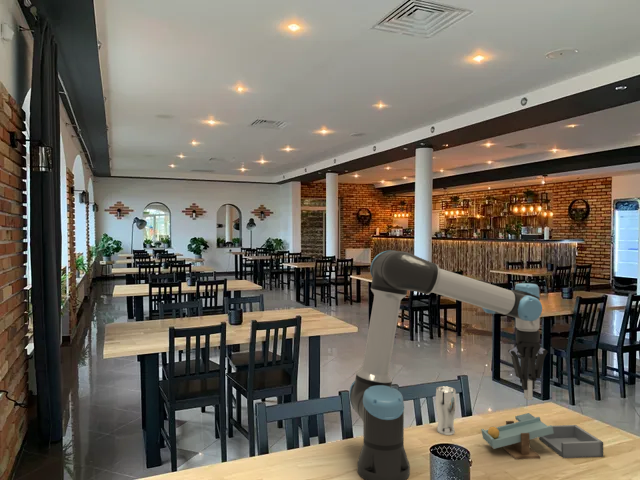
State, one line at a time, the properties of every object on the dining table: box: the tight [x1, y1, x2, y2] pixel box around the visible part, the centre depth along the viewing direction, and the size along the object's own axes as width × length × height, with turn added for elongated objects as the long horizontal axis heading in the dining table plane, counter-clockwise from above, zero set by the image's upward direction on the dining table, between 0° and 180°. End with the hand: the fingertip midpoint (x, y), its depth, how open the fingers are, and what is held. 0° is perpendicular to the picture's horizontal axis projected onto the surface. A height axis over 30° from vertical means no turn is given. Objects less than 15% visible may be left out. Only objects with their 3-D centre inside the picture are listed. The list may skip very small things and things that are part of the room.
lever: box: [480, 412, 554, 450], centre depth 157 cm, size 20×15×3 cm
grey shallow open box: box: [538, 424, 604, 459], centre depth 156 cm, size 13×14×4 cm
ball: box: [487, 426, 499, 439], centre depth 154 cm, size 4×4×4 cm
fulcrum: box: [502, 420, 541, 460], centre depth 154 cm, size 8×13×7 cm, turn 4°
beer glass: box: [435, 385, 457, 436], centre depth 169 cm, size 7×7×15 cm
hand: (528, 398), depth 162 cm, fingers closed
